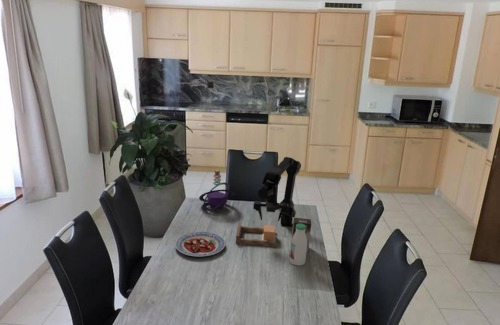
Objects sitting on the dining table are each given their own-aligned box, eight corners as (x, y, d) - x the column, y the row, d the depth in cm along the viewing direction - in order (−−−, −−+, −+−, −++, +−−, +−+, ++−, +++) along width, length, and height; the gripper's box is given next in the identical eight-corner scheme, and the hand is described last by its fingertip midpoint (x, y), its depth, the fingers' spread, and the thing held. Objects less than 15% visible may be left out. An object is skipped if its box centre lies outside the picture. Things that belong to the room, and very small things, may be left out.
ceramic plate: (180, 263, 183) (180, 258, 182) (171, 238, 206) (171, 233, 205) (231, 255, 192) (231, 250, 191) (217, 232, 215) (217, 227, 214)
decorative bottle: (229, 200, 262) (230, 165, 255) (237, 212, 242) (238, 175, 235) (197, 202, 255) (197, 166, 248) (202, 215, 236) (202, 176, 229)
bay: (274, 232, 218) (275, 225, 217) (275, 246, 203) (275, 238, 202) (238, 229, 219) (238, 222, 218) (235, 243, 204) (236, 235, 203)
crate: (274, 235, 215) (274, 225, 213) (274, 242, 207) (274, 232, 205) (263, 234, 215) (264, 224, 213) (263, 241, 207) (263, 231, 205)
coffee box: (290, 250, 200) (293, 222, 195) (290, 244, 206) (293, 217, 201) (308, 251, 199) (311, 223, 195) (308, 246, 205) (310, 218, 201)
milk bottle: (306, 259, 192) (310, 223, 186) (303, 267, 185) (307, 230, 179) (291, 256, 194) (294, 220, 188) (287, 264, 187) (291, 226, 181)
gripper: (253, 198, 196) (252, 225, 200) (290, 200, 195) (287, 228, 200) (254, 190, 207) (253, 217, 211) (289, 193, 206) (286, 219, 210)
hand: (269, 220), depth 208 cm, fingers open, 9 cm apart
